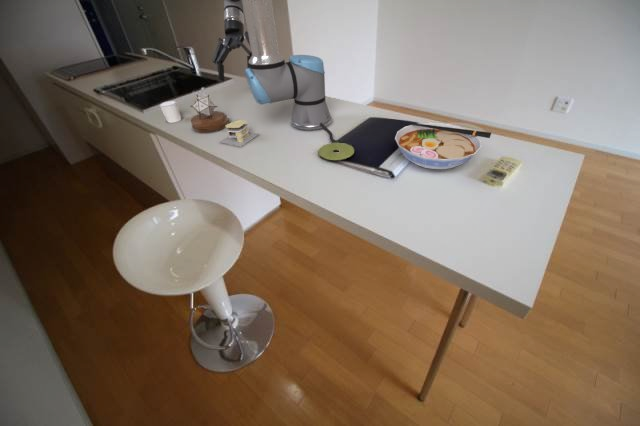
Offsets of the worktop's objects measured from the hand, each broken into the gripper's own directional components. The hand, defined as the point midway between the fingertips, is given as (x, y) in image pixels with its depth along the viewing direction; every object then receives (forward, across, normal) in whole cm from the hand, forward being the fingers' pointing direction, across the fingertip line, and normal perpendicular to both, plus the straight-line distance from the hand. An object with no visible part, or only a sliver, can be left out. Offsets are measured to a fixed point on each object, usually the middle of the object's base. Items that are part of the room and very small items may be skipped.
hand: (235, 77), depth 116 cm
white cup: (+15, +29, +3) cm, 33 cm away
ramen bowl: (+42, -72, +9) cm, 84 cm away
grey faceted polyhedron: (+17, +10, +6) cm, 20 cm away
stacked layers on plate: (+28, -8, +10) cm, 31 cm away
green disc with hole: (+38, -44, +12) cm, 60 cm away
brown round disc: (+20, +9, +4) cm, 22 cm away
